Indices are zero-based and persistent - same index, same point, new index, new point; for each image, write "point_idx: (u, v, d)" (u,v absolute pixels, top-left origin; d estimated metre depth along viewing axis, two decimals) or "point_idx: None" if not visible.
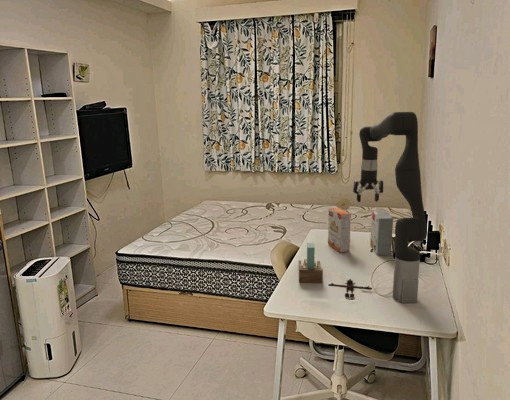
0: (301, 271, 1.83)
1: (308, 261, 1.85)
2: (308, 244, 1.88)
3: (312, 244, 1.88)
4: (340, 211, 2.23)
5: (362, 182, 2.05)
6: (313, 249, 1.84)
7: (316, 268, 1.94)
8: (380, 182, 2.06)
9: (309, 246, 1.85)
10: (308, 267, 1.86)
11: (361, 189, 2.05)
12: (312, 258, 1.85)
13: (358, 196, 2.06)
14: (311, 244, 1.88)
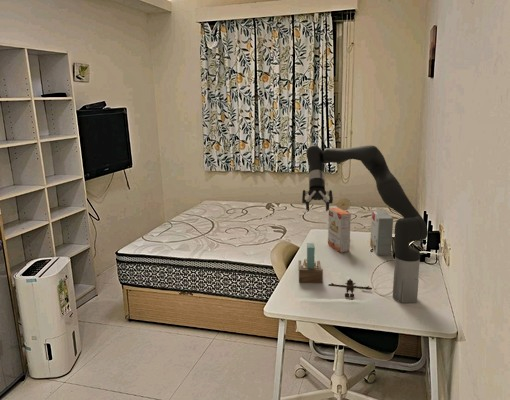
0: (301, 271, 1.83)
1: (308, 261, 1.85)
2: (308, 244, 1.88)
3: (312, 244, 1.88)
4: (340, 211, 2.24)
5: None
6: (313, 249, 1.84)
7: (316, 268, 1.94)
8: None
9: (309, 246, 1.85)
10: (308, 267, 1.86)
11: None
12: (312, 258, 1.85)
13: None
14: (311, 244, 1.88)
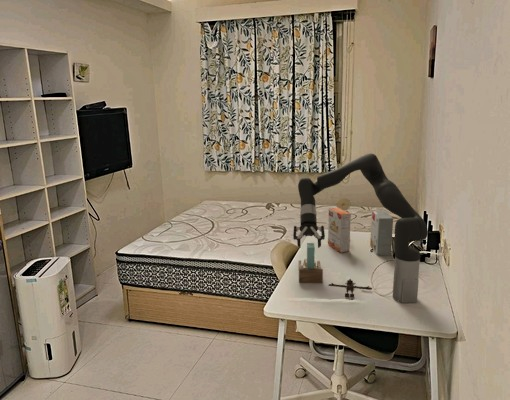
0: (301, 271, 1.83)
1: (308, 261, 1.85)
2: (308, 244, 1.88)
3: (312, 244, 1.88)
4: (340, 211, 2.24)
5: None
6: (313, 249, 1.84)
7: (316, 268, 1.94)
8: None
9: (309, 246, 1.85)
10: (308, 267, 1.86)
11: None
12: (312, 258, 1.85)
13: None
14: (311, 244, 1.88)
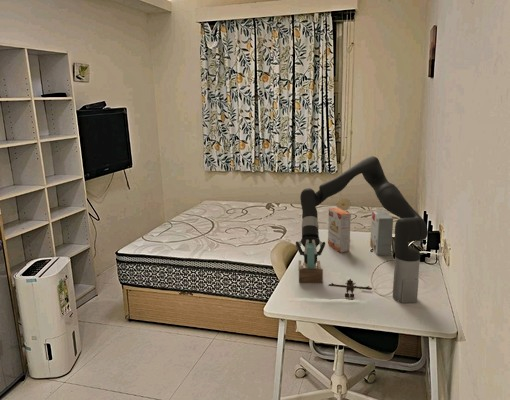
0: (301, 271, 1.83)
1: (308, 261, 1.85)
2: (308, 244, 1.88)
3: (312, 244, 1.88)
4: (340, 211, 2.23)
5: None
6: (313, 249, 1.84)
7: (316, 268, 1.94)
8: None
9: (309, 246, 1.85)
10: (308, 267, 1.86)
11: None
12: (312, 258, 1.85)
13: None
14: (311, 244, 1.88)
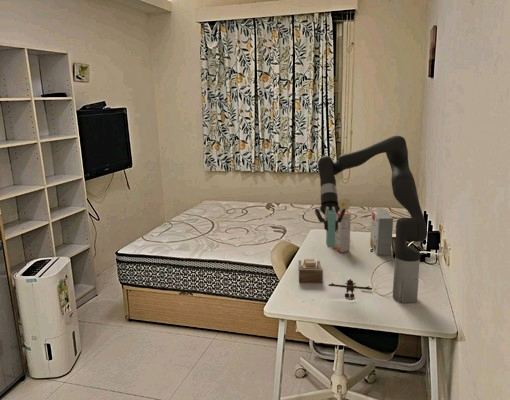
0: (301, 271, 1.83)
1: (329, 228, 1.81)
2: (328, 211, 1.83)
3: (332, 211, 1.83)
4: None
5: None
6: (334, 215, 1.79)
7: (316, 268, 1.94)
8: None
9: (330, 212, 1.81)
10: (329, 234, 1.81)
11: None
12: (333, 224, 1.80)
13: None
14: (331, 211, 1.83)
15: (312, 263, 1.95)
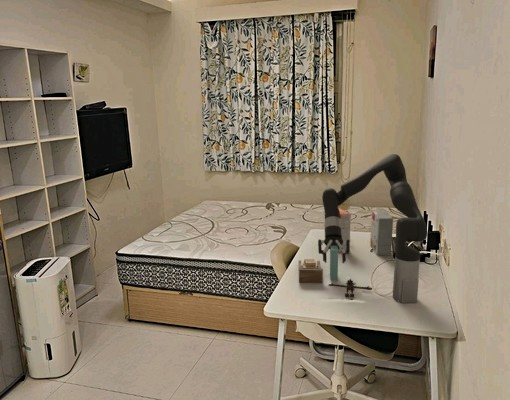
0: (301, 271, 1.83)
1: (332, 263, 1.85)
2: (331, 246, 1.87)
3: (335, 246, 1.87)
4: (340, 211, 2.24)
5: None
6: (337, 251, 1.83)
7: (316, 268, 1.94)
8: None
9: (333, 248, 1.85)
10: (332, 270, 1.85)
11: None
12: (336, 260, 1.84)
13: None
14: (334, 246, 1.87)
15: (312, 263, 1.95)
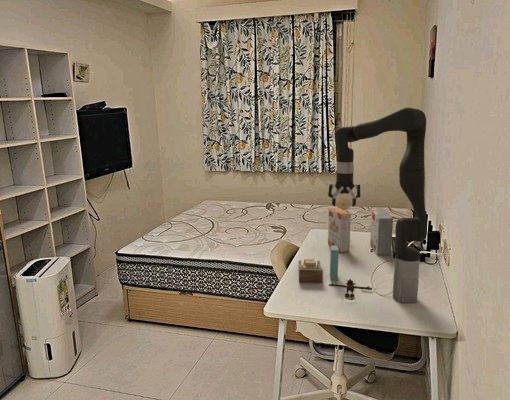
0: (301, 271, 1.83)
1: (332, 263, 1.85)
2: (332, 246, 1.87)
3: (336, 246, 1.87)
4: (340, 211, 2.23)
5: None
6: (337, 252, 1.83)
7: (316, 268, 1.94)
8: None
9: (333, 248, 1.85)
10: (332, 269, 1.85)
11: None
12: (336, 261, 1.84)
13: None
14: (335, 246, 1.87)
15: (312, 263, 1.95)
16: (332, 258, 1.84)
